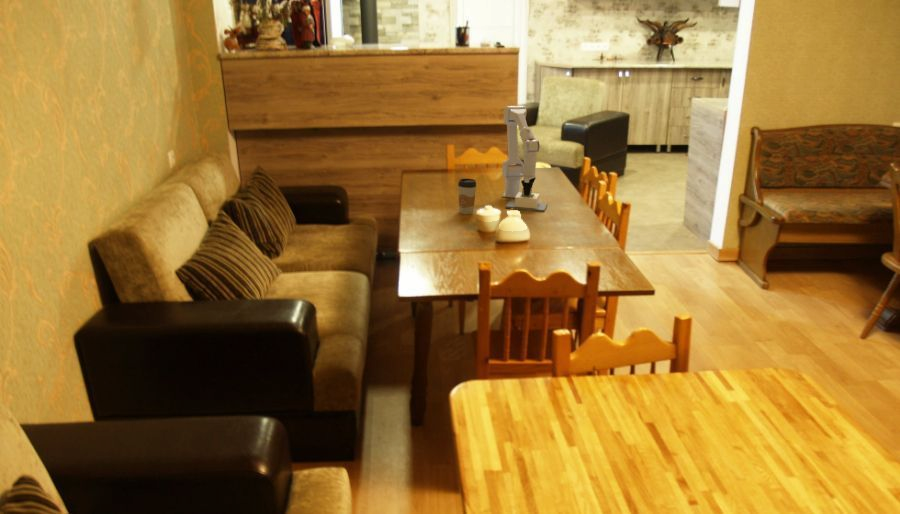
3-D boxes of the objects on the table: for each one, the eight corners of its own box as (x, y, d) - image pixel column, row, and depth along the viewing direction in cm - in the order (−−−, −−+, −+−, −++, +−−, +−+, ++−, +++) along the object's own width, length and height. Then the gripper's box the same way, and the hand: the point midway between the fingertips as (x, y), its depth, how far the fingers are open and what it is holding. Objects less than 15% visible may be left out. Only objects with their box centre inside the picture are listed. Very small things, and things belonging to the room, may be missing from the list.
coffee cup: (453, 213, 313) (454, 181, 308) (462, 208, 320) (463, 177, 315) (470, 216, 310) (471, 183, 304) (478, 211, 317) (479, 179, 311)
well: (510, 201, 334) (510, 190, 332) (547, 205, 330) (548, 194, 328) (505, 208, 323) (506, 196, 321) (544, 212, 319) (544, 200, 317)
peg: (521, 202, 329) (523, 186, 326) (530, 203, 328) (532, 187, 325) (520, 204, 325) (522, 188, 322) (529, 205, 324) (531, 189, 321)
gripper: (523, 161, 327) (521, 189, 332) (518, 168, 314) (516, 197, 319) (538, 162, 326) (535, 190, 330) (534, 169, 312) (532, 198, 317)
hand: (527, 194), depth 324 cm, fingers open, 5 cm apart
